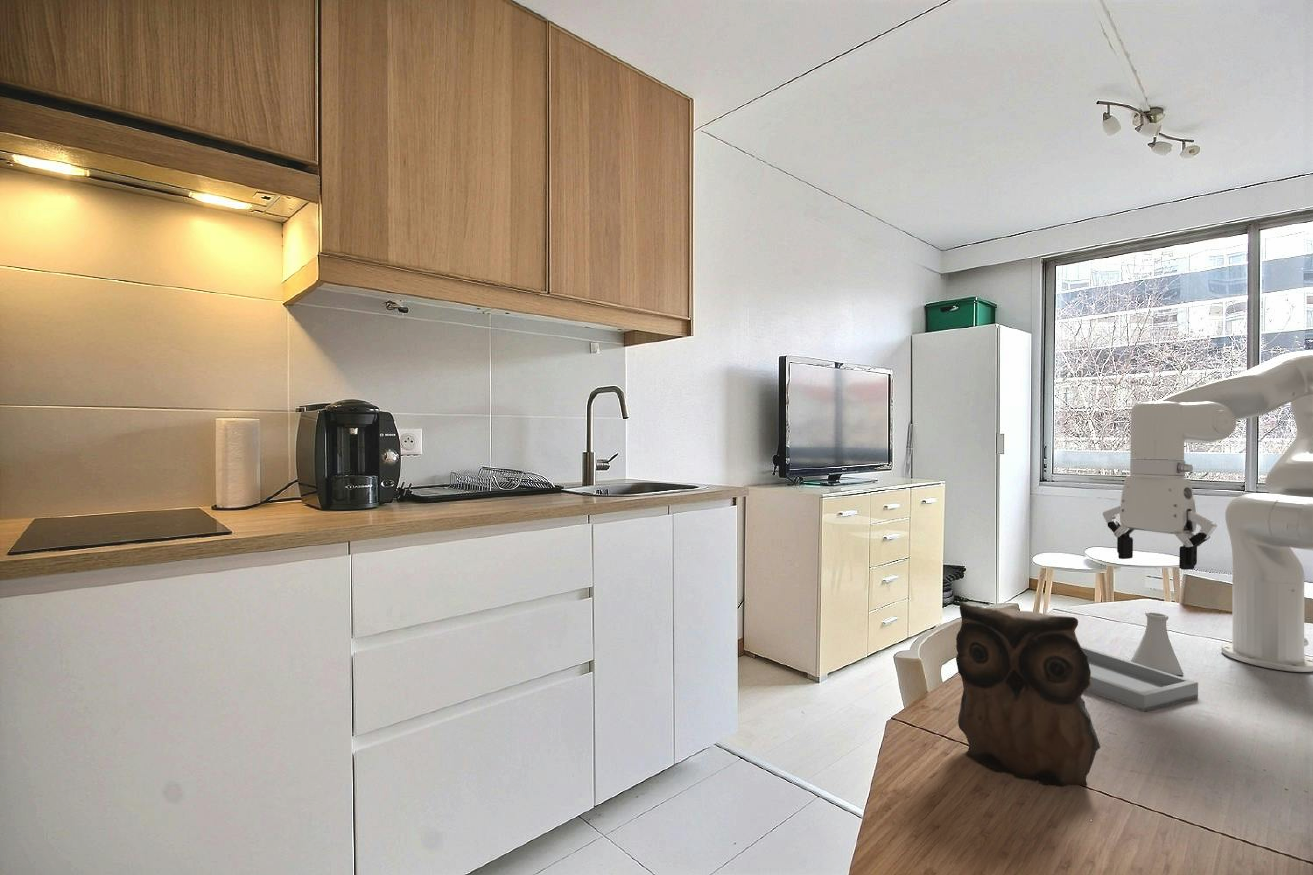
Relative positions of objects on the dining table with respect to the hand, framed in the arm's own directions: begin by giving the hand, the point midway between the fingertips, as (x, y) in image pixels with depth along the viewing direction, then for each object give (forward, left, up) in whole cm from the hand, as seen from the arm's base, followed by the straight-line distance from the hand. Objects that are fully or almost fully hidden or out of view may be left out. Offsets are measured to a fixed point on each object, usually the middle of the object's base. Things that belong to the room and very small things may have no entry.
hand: (1154, 563), depth 108 cm
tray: (+15, 0, -19) cm, 24 cm away
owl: (+52, +13, -19) cm, 57 cm away
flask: (0, 0, -20) cm, 19 cm away
